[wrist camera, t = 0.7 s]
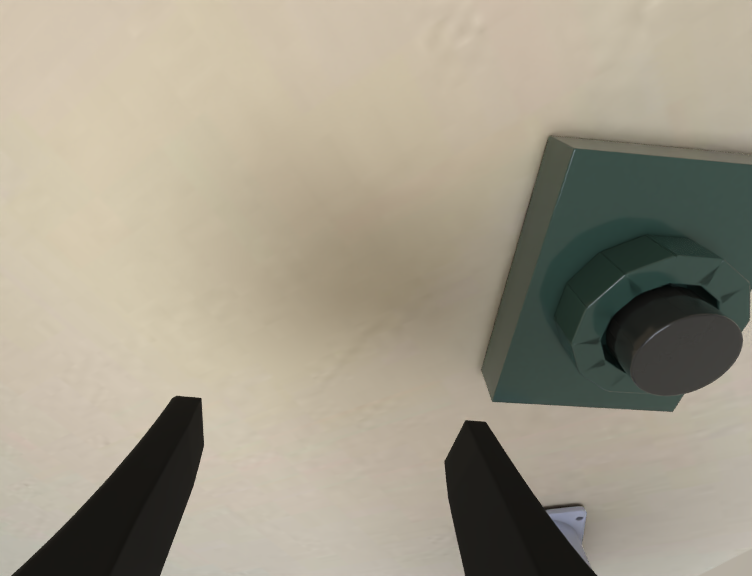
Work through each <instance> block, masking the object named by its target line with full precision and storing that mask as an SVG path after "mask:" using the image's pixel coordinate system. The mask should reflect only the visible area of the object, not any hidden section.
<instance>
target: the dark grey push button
mask: <svg viewBox="0 0 752 576" xmlns="http://www.w3.org/2000/svg"><path fill="white" fill-rule="evenodd" d="M606 344H607V347H608V349H609V351H610V353H611V354H612V355H613V356H614V358H615V359H616V360H617V362H618V363H619V364H620V365H621V367H622V368H623V369H624V371H625V372H626V373H627V374H628V376H629V377H630V378H631V380H632V381H633V382H634V383H635V385H636V386H637V387H639V388H640V389H641V390H643V391H645V392H647V393H650V394H653V395H658V396H675V395H681V394H686V393H689V392H692V391H695V390H698V389H700V388H703V387H705V386H706V385H708V384H710V383H712V382H713V381H715V380H717V379H718V378H719V377H721V376H722V375H723V374H724V373H725V372H726V371H727V370H728V369H729V368H730V367H731V366H732V365H733V364H734V362H735V361H736V359H737V358H738V356H739V354H740V352H741V349H742V344H743V337H742V333H741V330H740V328H739V327H738V325H737V324H736V323H735V322H734V321H733V320H731V319H730V318H729V317H727V316H726V315H725V314H723V313H722V312H721V311H720V310H718V309H717V308H716V307H714V306H713V305H712V304H710V303H709V302H708V301H706V300H705V299H704V298H703V297H701V296H700V295H699V294H697V293H696V292H694V291H692V290H690V289H687V288H684V287H677V286H667V287H660V288H655V289H652V290H649V291H647V292H644V293H642V294H640V295H638V296H636V297H635V298H633V299H632V300H631V301H630V302H629V303H627V304H626V305H625V306H624V307H623V308H622V309H620V310H619V311H618V312H617V313H616V314H615V315H614V316H613V318H612V319H611V321H610V323H609V325H608V328H607V332H606Z"/></svg>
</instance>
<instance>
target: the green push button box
mask: <svg viewBox="0 0 752 576" xmlns="http://www.w3.org/2000/svg"><path fill="white" fill-rule="evenodd" d="M667 286H677V287H684V288H687V289H690V290H692V291H694V292H696V293H697V294H699V295H700V296H701V297H703V298H704V299H705V300H706V301H708V302H709V303H710V304H712V305H713V306H714V307H716V308H717V309H718V310H720V311H721V312H722V313H723V314H725V315H726V316H727V317H729V318H730V319H731V320H733V321H734V322H735V323H736V324H737V325H738V327H739V328H740V330H741V332H742V331H743V329H744V328H745V327H746V325H747V324H748V322H749V321H750V319H749V318H750V292H751V290H752V154H742V153H731V152H721V151H710V150H699V149H689V148H678V147H668V146H657V145H646V144H636V143H625V142H614V141H604V140H593V139H582V138H572V137H561V136H549V138H548V142H547V145H546V148H545V152H544V155H543V159H542V162H541V166H540V169H539V173H538V176H537V180H536V183H535V186H534V190H533V193H532V197H531V200H530V204H529V207H528V211H527V214H526V217H525V221H524V224H523V228H522V231H521V235H520V238H519V242H518V245H517V248H516V252H515V255H514V259H513V262H512V266H511V269H510V273H509V276H508V280H507V283H506V286H505V290H504V293H503V297H502V300H501V304H500V307H499V311H498V314H497V317H496V321H495V324H494V328H493V331H492V335H491V338H490V342H489V345H488V348H487V352H486V355H485V359H484V362H483V366H482V369H481V371H482V373H483V376H484V379H485V382H486V385H487V388H488V391H489V394H490V397H491V400H492V402H505V403H523V404H541V405H559V406H577V407H595V408H613V409H631V410H649V411H667V412H673V411H674V409H675V408H676V406H677V405H678V403H679V401H680V400H681V398H682V397H683V395H684V394H681V395H675V396H658V395H653V394H650V393H647V392H645V391H643V390H641V389H640V388H639V387H637V386H636V385H635V383H634V382H633V381H632V380H631V378H630V377H629V376H628V374H627V373H626V372H625V371H624V369H623V368H622V367H621V365H620V364H619V363H618V362H617V360H616V359H615V358H614V356H613V355H612V354H611V353H610V351H609V349H608V347H607V344H606V332H607V328H608V325H609V323H610V321H611V319H612V318H613V316H614V315H615V314H616V313H617V312H618V311H619V310H620V309H622V308H623V307H624V306H625V305H626V304H627V303H629V302H630V301H631V300H632V299H633V298H635V297H636V296H638V295H640V294H642V293H644V292H647V291H649V290H652V289H655V288H660V287H667Z"/></svg>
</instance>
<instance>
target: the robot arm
mask: <svg viewBox="0 0 752 576" xmlns="http://www.w3.org/2000/svg"><path fill="white" fill-rule="evenodd" d="M203 447H204V436H203V418H202V400H201V398H195V397H184V396H176V397H174V398H172V399H171V401H170V402H169V404H168V405H167V406H166V408H165V409H164V411H163V412H162V413H161V415H160V416H159V417H158V419H157V420H156V421H155V423H154V424H153V425H152V426H151V428H150V429H149V430H148V432H147V433H146V434H145V435H144V437H143V438H142V439H141V440H140V442H139V443H138V444H137V445H136V446H135V448H134V449H133V450H132V451H131V452H130V454H129V455H128V456H127V457H126V458H125V459H124V461H123V462H122V463H121V464H120V465H119V466H118V468H117V469H116V470H115V471H114V472H113V473H112V475H111V476H110V477H109V478H108V479H107V480H106V481H105V482H104V483H103V485H102V486H101V487H100V488H99V489H98V490H97V491H96V492H95V493H94V494H93V495H92V496H91V497H90V498H89V500H88V501H87V502H86V503H85V504H84V505H83V506H82V507H81V508H80V509H79V510H78V511H77V512H76V514H75V515H74V516H73V517H72V518H71V519H70V520H69V521H68V522H67V523H66V524H65V525H64V526H63V527H62V528H61V529H60V530H59V531H58V532H57V533H56V534H55V535H54V536H53V537H52V538H51V539H50V540H49V541H48V542H47V543H46V544H45V545H43V546H42V547H41V548H40V549H39V550H38V551H37V552H36V553H35V554H34V555H33V556H32V557H31V558H30V559H29V560H28V561H27V562H26V563H25V564H24V565H22V566H21V567H20V568H19V569H18V570H17V571H16V572H15V573H14V574H13V575H11V576H160V574H161V571H162V569H163V566H164V563H165V561H166V558H167V555H168V553H169V550H170V547H171V545H172V542H173V539H174V537H175V534H176V531H177V529H178V526H179V524H180V521H181V518H182V515H183V513H184V510H185V507H186V505H187V502H188V499H189V497H190V494H191V491H192V488H193V486H194V482H195V478H196V474H197V471H198V467H199V463H200V459H201V455H202V451H203ZM445 472H446V483H447V491H448V499H449V504H450V509H451V514H452V518H453V523H454V527H455V532H456V536H457V541H458V545H459V550H460V554H461V559H462V563H463V567H464V572H465V576H597V575H596V574H595V573H594V571H593V570H592V568H591V566H590V563H589V561H588V559H587V556H586V554H585V552H584V549H583V547H582V541H583V534H584V528H585V521H586V515H587V513H586V510H585V508H584V507H582V506H575V507H566V508H557V509H548V510H545V509H544V508H543V507H542V505H541V504H540V502H539V501H538V499H537V498H536V497H535V495H534V494H533V492H532V491H531V489H530V488H529V487H528V485H527V484H526V482H525V481H524V479H523V478H522V476H521V475H520V473H519V472H518V470H517V469H516V467H515V466H514V464H513V463H512V461H511V460H510V458H509V457H508V455H507V454H506V452H505V451H504V449H503V448H502V446H501V445H500V443H499V441H498V440H497V438H496V437H495V435H494V434H493V432H492V431H491V429H490V428H489V426H488V425H487V423H486V422H480V421H468V420H465V422H464V424H463V426H462V428H461V430H460V432H459V434H458V436H457V438H456V440H455V442H454V444H453V446H452V448H451V450H450V452H449V454H448V456H447V458H446V460H445Z"/></svg>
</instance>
